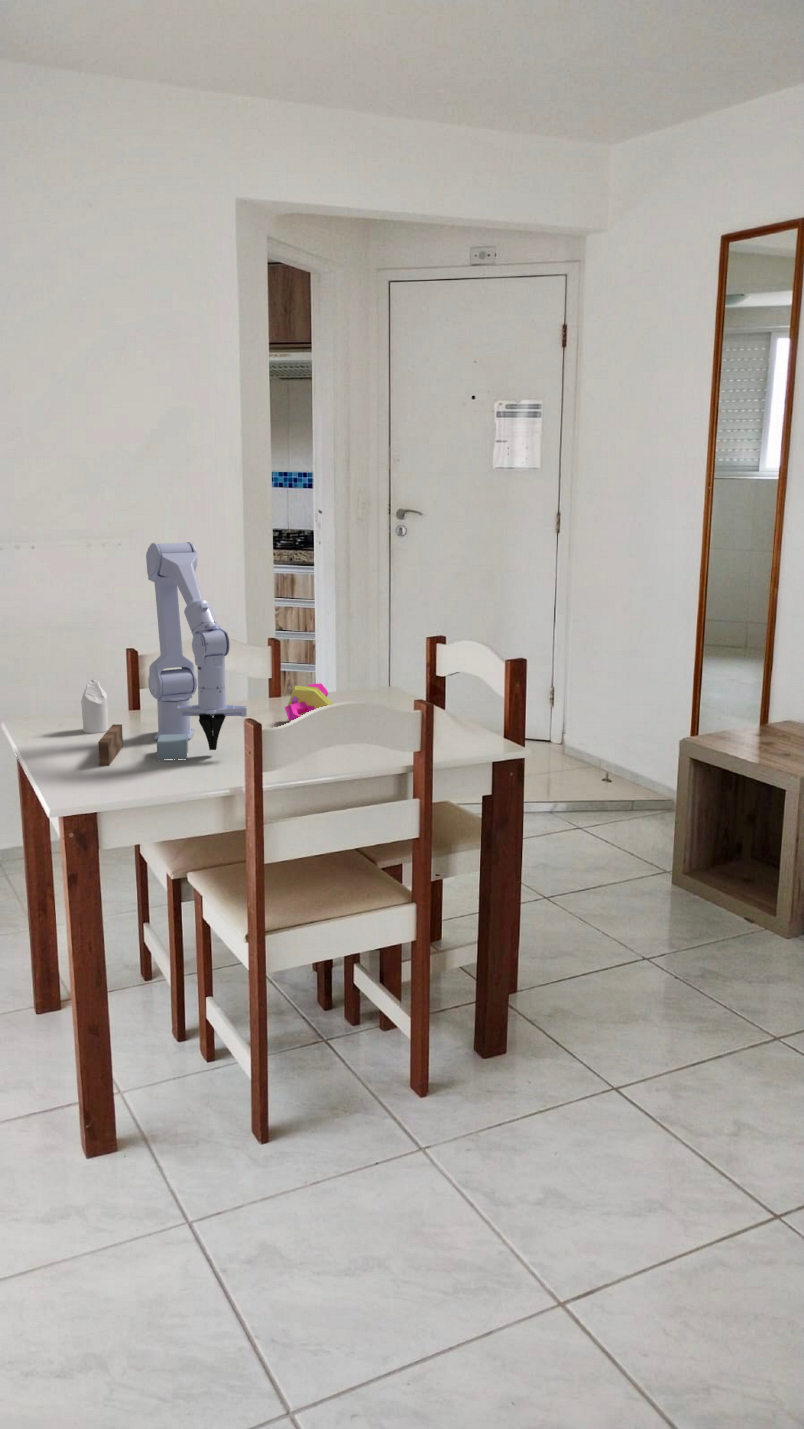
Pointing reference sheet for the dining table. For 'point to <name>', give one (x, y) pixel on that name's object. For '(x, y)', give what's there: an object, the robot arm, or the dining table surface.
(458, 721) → the dining table surface
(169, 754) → the slate block
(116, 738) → the walnut board
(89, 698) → the crumpled white cylinder
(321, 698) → the toy
